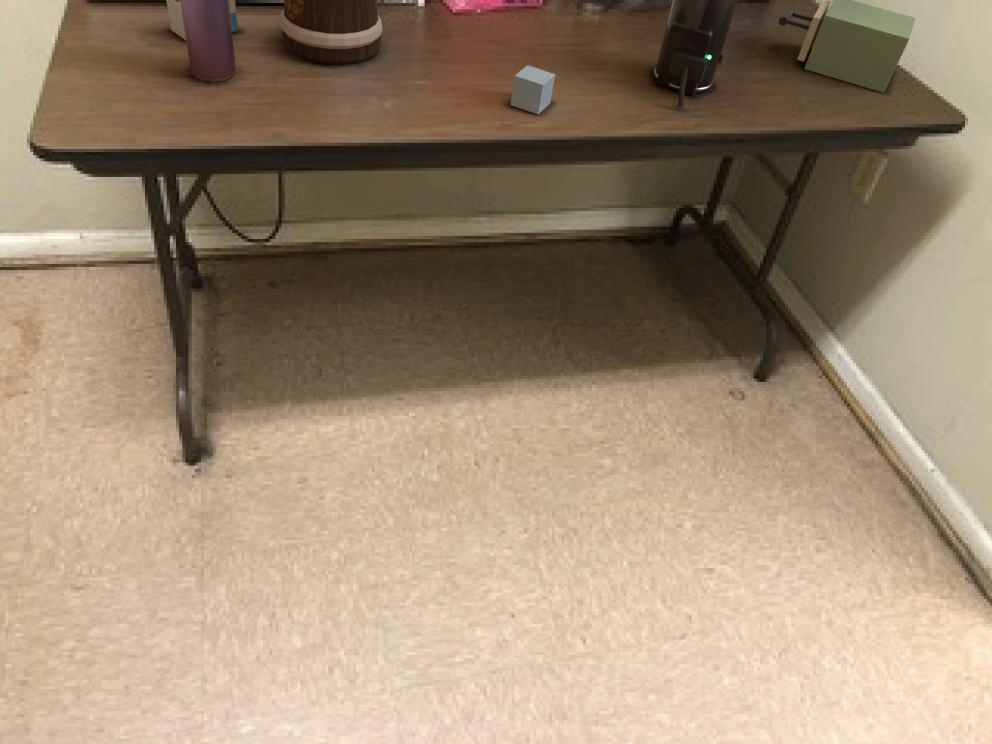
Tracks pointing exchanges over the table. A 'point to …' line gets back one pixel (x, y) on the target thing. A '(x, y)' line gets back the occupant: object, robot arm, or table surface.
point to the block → (532, 89)
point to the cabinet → (860, 44)
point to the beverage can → (209, 39)
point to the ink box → (177, 17)
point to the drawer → (806, 26)
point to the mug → (331, 29)
